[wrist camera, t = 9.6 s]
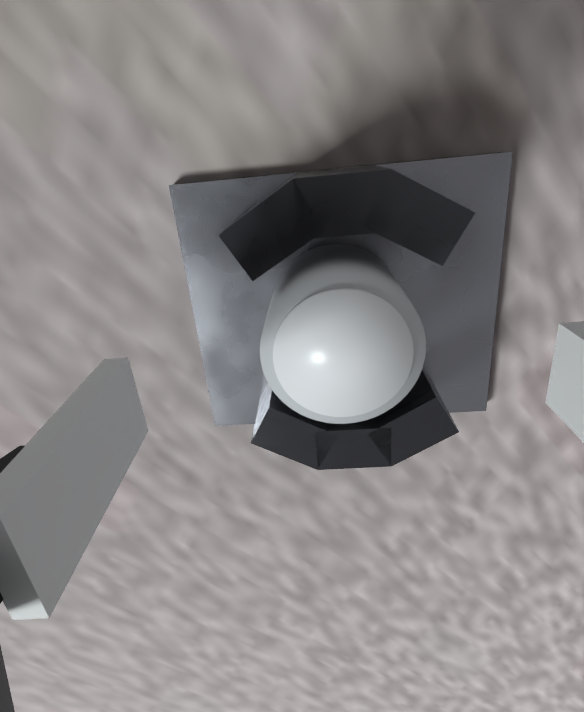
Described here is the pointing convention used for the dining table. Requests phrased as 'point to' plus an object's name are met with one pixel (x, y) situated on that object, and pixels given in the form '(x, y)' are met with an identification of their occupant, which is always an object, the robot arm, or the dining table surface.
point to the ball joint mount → (376, 235)
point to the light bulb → (341, 336)
